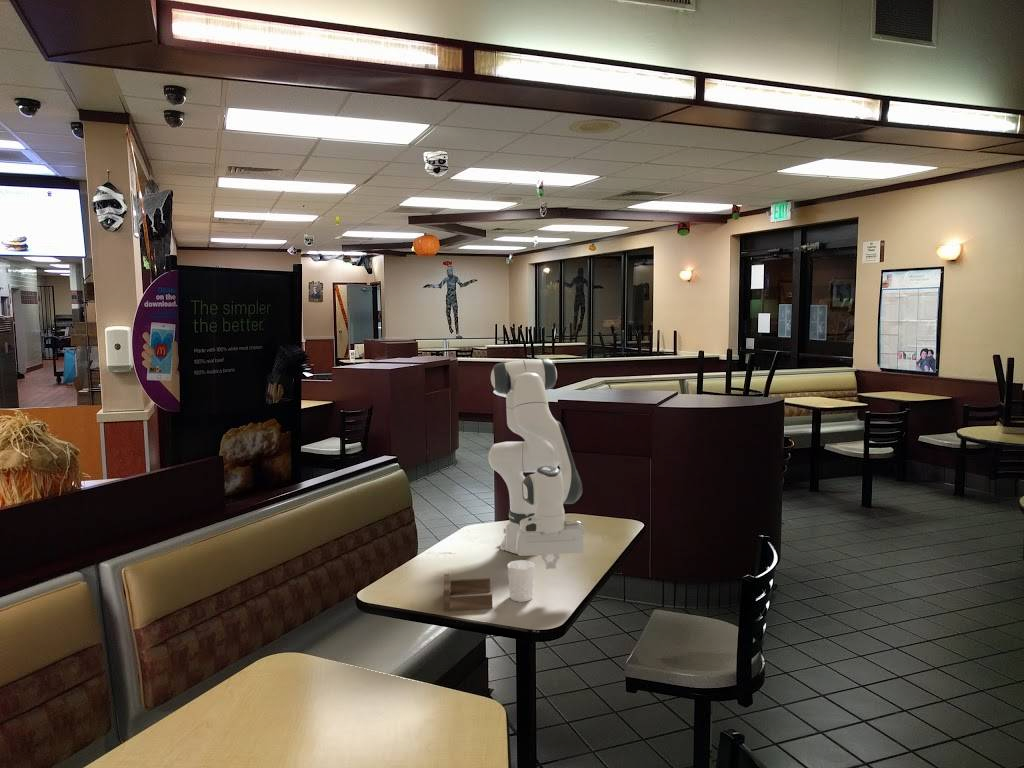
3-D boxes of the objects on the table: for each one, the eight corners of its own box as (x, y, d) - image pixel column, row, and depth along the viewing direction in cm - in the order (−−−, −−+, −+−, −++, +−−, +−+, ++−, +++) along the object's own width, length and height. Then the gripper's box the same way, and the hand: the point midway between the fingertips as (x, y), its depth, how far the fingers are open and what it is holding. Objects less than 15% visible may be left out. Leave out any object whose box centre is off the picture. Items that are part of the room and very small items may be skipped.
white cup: (532, 603, 196) (531, 570, 195) (505, 602, 198) (504, 568, 197) (536, 592, 204) (536, 560, 203) (511, 591, 206) (510, 559, 205)
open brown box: (445, 593, 206) (444, 573, 205) (490, 590, 207) (489, 571, 206) (444, 611, 193) (443, 590, 192) (492, 608, 194) (491, 587, 193)
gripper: (582, 517, 203) (583, 562, 204) (514, 520, 202) (515, 566, 203) (586, 523, 197) (587, 570, 198) (516, 526, 195) (517, 573, 196)
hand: (550, 568), depth 200 cm, fingers closed
